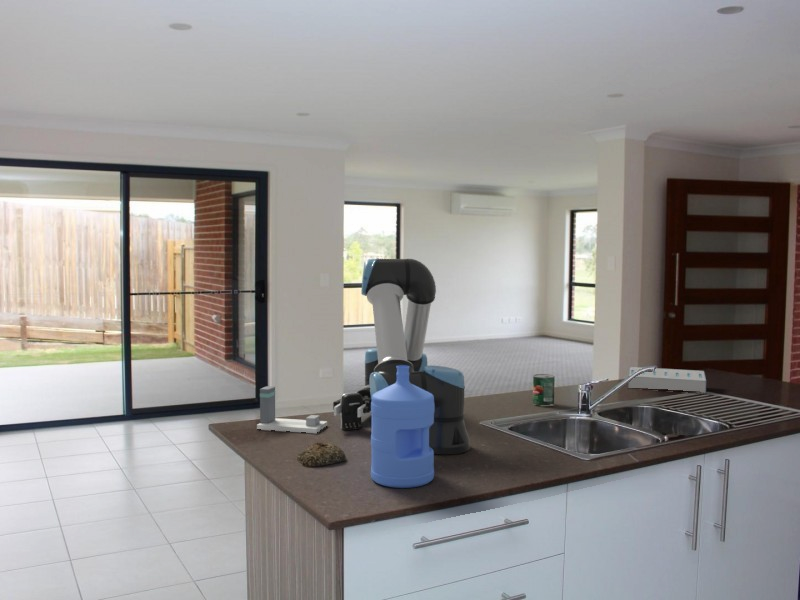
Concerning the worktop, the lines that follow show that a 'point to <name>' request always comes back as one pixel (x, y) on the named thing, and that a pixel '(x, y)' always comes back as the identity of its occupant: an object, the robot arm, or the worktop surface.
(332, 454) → the bread roll
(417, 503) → the worktop surface
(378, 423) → the water jug
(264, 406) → the mount
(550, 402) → the canned tomato
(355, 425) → the battery charger
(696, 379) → the dotted white bar
